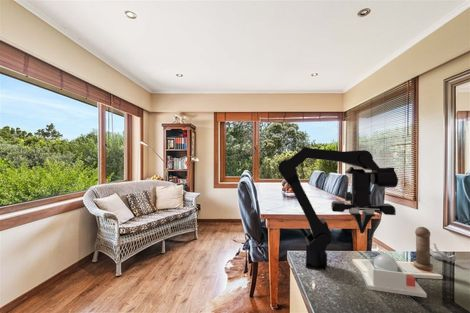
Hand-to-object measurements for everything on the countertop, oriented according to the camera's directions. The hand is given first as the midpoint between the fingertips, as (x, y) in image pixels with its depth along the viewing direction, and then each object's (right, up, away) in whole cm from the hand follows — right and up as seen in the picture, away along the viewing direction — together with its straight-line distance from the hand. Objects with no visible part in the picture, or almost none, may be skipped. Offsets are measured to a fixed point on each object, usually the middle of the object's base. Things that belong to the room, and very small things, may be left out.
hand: (361, 233), depth 82 cm
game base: (+3, -12, -11) cm, 16 cm away
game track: (+10, -12, -1) cm, 16 cm away
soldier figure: (+32, -13, +8) cm, 36 cm away
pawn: (+19, -11, -2) cm, 22 cm away
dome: (+1, -9, -11) cm, 14 cm away
